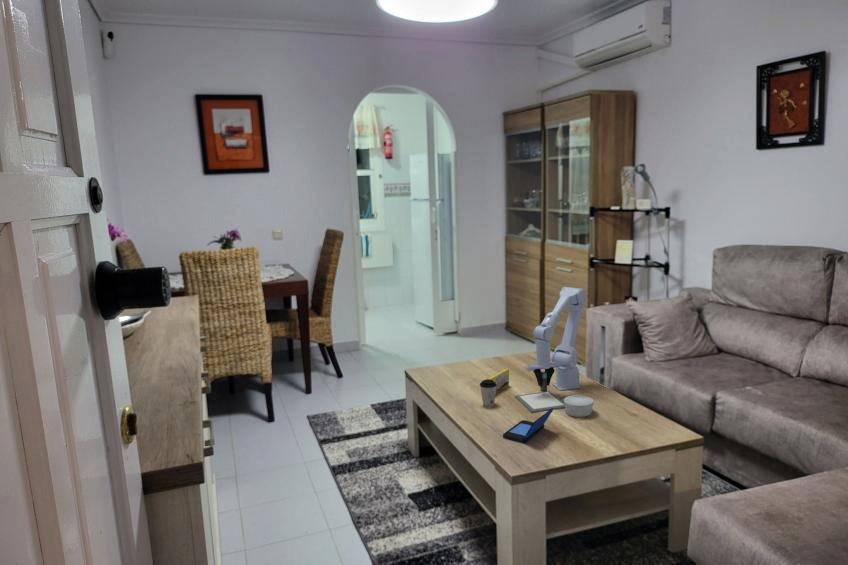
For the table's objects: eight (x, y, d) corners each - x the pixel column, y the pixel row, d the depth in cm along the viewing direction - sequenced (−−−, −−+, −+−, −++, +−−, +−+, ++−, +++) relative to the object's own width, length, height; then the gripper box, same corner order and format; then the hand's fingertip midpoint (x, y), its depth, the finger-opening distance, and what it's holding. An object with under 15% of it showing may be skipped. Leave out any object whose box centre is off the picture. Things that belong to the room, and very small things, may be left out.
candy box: (491, 398, 245) (490, 379, 243) (486, 397, 246) (486, 378, 244) (509, 386, 257) (509, 368, 256) (505, 385, 259) (504, 367, 257)
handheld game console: (522, 423, 218) (521, 400, 216) (555, 431, 210) (554, 406, 208) (501, 438, 206) (500, 414, 204) (534, 447, 198) (534, 422, 196)
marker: (545, 389, 245) (545, 371, 243) (548, 391, 242) (548, 373, 240) (539, 390, 244) (538, 372, 243) (542, 392, 241) (541, 374, 240)
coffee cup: (496, 408, 233) (495, 384, 231) (479, 407, 234) (478, 384, 233) (497, 401, 240) (497, 378, 238) (481, 401, 241) (480, 378, 240)
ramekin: (593, 408, 228) (593, 395, 227) (593, 419, 217) (593, 406, 216) (564, 406, 231) (564, 394, 230) (563, 417, 220) (563, 404, 220)
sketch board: (549, 392, 247) (549, 390, 247) (569, 407, 230) (569, 405, 230) (514, 397, 244) (514, 395, 244) (531, 412, 226) (531, 410, 226)
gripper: (530, 358, 235) (531, 390, 237) (563, 355, 238) (563, 386, 240) (524, 354, 242) (524, 385, 244) (556, 350, 245) (556, 381, 247)
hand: (543, 385), depth 243 cm, fingers closed on marker, 3 cm apart
